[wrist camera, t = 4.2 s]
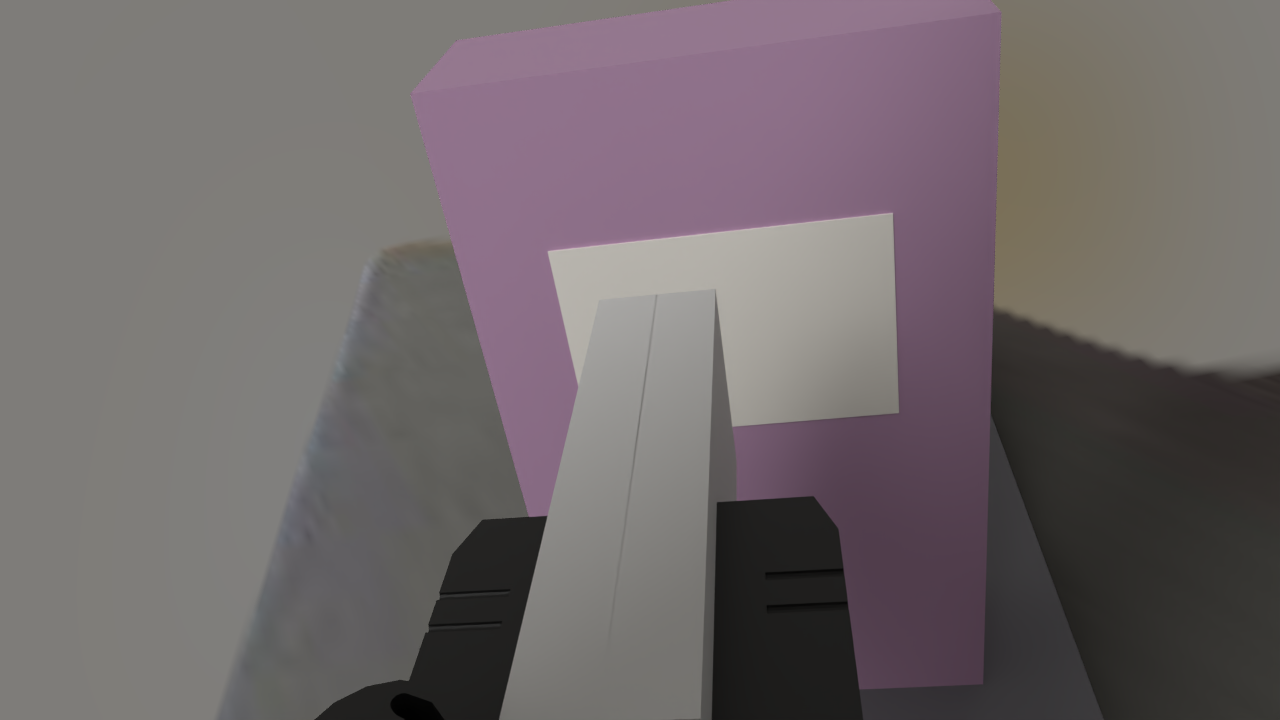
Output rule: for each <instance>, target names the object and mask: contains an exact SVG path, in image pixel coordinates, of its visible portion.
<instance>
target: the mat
mask: <svg viewBox="0 0 1280 720" xmlns="http://www.w3.org/2000/svg"><path fill="white" fill-rule="evenodd" d="M860 698H861V706H862V714H863V720H1104V719H1103V716H1102V713H1101V710H1100V708H1099V705H1098V702H1097V700H1096V697H1095V694H1094V692H1093V689H1092V686H1091V683H1090V681H1089V678H1088V675H1087V673H1086V670H1085V667H1084V665H1083V662H1082V659H1081V656H1080V654H1079V651H1078V648H1077V646H1076V643H1075V640H1074V637H1073V635H1072V632H1071V629H1070V627H1069V624H1068V621H1067V619H1066V616H1065V613H1064V610H1063V608H1062V605H1061V602H1060V600H1059V597H1058V594H1057V591H1056V589H1055V586H1054V583H1053V581H1052V578H1051V575H1050V573H1049V570H1048V567H1047V564H1046V562H1045V559H1044V556H1043V554H1042V551H1041V548H1040V545H1039V543H1038V540H1037V537H1036V535H1035V532H1034V529H1033V527H1032V524H1031V521H1030V518H1029V516H1028V513H1027V510H1026V508H1025V505H1024V502H1023V500H1022V497H1021V494H1020V491H1019V489H1018V486H1017V483H1016V481H1015V478H1014V475H1013V472H1012V470H1011V467H1010V464H1009V462H1008V459H1007V456H1006V454H1005V451H1004V448H1003V445H1002V443H1001V440H1000V437H999V435H998V432H997V429H996V426H995V424H994V421H993V418H992V416H991V413H990V449H989V486H988V523H987V560H986V597H985V634H984V671H983V684H978V685H955V686H931V687H908V688H884V689H860Z"/></svg>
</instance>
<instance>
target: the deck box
mask: <svg viewBox="0 0 1280 720" xmlns="http://www.w3.org/2000/svg"><path fill="white" fill-rule="evenodd" d="M1000 43H1001V11H1000V10H999V9H998V8H997V7H996V6H995V5H994V4H993V2H992V1H991V0H731V1H724V2H718V3H711V4H704V5H697V6H690V7H684V8H677V9H670V10H662V11H656V12H649V13H642V14H635V15H628V16H621V17H615V18H607V19H600V20H594V21H587V22H580V23H573V24H566V25H560V26H552V27H545V28H538V29H532V30H526V31H518V32H511V33H504V34H497V35H491V36H483V37H476V38H469V39H463V40H456V41H455V43H454V44H453V45H452V46H451V47H450V48H449V50H448V51H447V52H446V53H445V54H444V55H443V56H442V58H441V59H440V60H439V61H438V62H437V63H436V64H435V66H434V67H433V68H432V69H431V70H430V71H429V73H428V74H427V75H426V76H425V77H424V78H423V79H422V81H421V82H420V83H419V84H418V85H417V86H416V88H415V89H414V90H413V91H412V92H411V98H412V101H413V105H414V108H415V112H416V116H417V119H418V123H419V126H420V130H421V133H422V137H423V141H424V144H425V148H426V151H427V155H428V159H429V162H430V166H431V169H432V172H433V176H434V180H435V183H436V187H437V190H438V194H439V198H440V201H441V205H442V208H443V212H444V215H445V219H446V222H447V226H448V230H449V233H450V237H451V241H452V244H453V248H454V251H455V255H456V258H457V262H458V265H459V269H460V273H461V276H462V280H463V283H464V287H465V290H466V294H467V298H468V301H469V305H470V308H471V312H472V315H473V319H474V323H475V326H476V330H477V333H478V337H479V340H480V344H481V347H482V351H483V355H484V358H485V362H486V365H487V369H488V372H489V376H490V380H491V383H492V387H493V390H494V394H495V397H496V401H497V404H498V408H499V412H500V415H501V419H502V422H503V426H504V429H505V433H506V437H507V440H508V444H509V447H510V451H511V454H512V458H513V461H514V465H515V469H516V472H517V476H518V479H519V483H520V486H521V490H522V494H523V497H524V501H525V504H526V508H527V511H528V515H529V517H537V516H548V512H549V508H550V504H551V500H552V496H553V491H554V487H555V483H556V479H557V475H558V470H559V466H560V462H561V458H562V454H563V449H564V445H565V441H566V437H567V433H568V429H569V424H570V420H571V416H572V412H573V408H574V403H575V399H576V395H577V391H578V387H579V382H580V378H581V374H582V370H583V366H584V362H585V357H586V353H587V349H588V345H589V341H590V336H591V332H592V328H593V324H594V320H595V315H596V311H597V307H598V303H599V300H602V299H613V298H624V297H634V296H645V295H656V294H666V293H677V292H688V291H699V290H709V289H716V297H717V305H718V313H719V321H720V330H721V338H722V346H723V354H724V362H725V371H726V379H727V387H728V395H729V403H730V412H731V420H732V428H733V436H734V444H735V453H736V461H737V501H743V500H759V499H775V498H791V497H807V496H814V497H815V499H816V500H817V501H818V503H819V504H820V505H821V506H822V508H823V509H824V510H825V512H826V513H827V514H828V516H829V517H830V518H831V520H832V521H833V522H834V523H835V525H836V526H837V527H838V529H839V536H840V544H841V552H842V559H843V567H844V576H845V582H846V590H847V598H848V608H849V613H850V621H851V629H852V636H853V644H854V652H855V660H856V667H857V675H858V683H859V690H860V689H884V688H908V687H931V686H955V685H978V684H983V671H984V634H985V597H986V560H987V523H988V486H989V449H990V412H991V376H992V339H993V302H994V265H995V226H996V225H995V224H996V191H997V190H996V189H997V152H998V115H999V80H1000Z"/></svg>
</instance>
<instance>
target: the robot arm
mask: <svg viewBox="0 0 1280 720" xmlns="http://www.w3.org/2000/svg"><path fill="white" fill-rule="evenodd" d="M439 593H440V600H437V601H436V604H435V607H434V610H433V613H432V616H431V618H430V621H429V624H428V625H429V632H428V633H425V636H424V639H423V642H422V645H421V648H420V651H419V653H418V656H417V659H416V662H415V665H414V668H413V671H412V674H411V677H410V680H409V681H403V680H398V681H393V682H387V683H382V684H377V685H372V686H367V687H365V688H363V689H361V690H359V691H357V692H355V693H353V694H351V695H349V696H347V697H345V698H343V699H341V700H339V701H337V702H335V703H333V704H332V705H331V706H330V707H329V708H328V709H326V710H325V711H324V712H323V713H322V714H321V715H319V716H318V717H317V718H316V719H315V720H863V714H862V706H861V698H860V690H859V683H858V675H857V667H856V660H855V652H854V644H853V636H852V629H851V621H850V613H849V608H848V598H847V590H846V582H845V576H844V567H843V559H842V552H841V544H840V536H839V529H838V527H837V526H836V525H835V523H834V522H833V521H832V520H831V518H830V517H829V516H828V514H827V513H826V512H825V510H824V509H823V508H822V506H821V505H820V504H819V503H818V501H817V500H816V499H815V497H814V496H807V497H791V498H775V499H759V500H743V501H737V461H736V453H735V444H734V436H733V428H732V420H731V412H730V403H729V395H728V387H727V379H726V371H725V362H724V354H723V346H722V338H721V330H720V321H719V313H718V305H717V297H716V289H709V290H699V291H688V292H677V293H666V294H656V295H645V296H634V297H624V298H613V299H602V300H599V303H598V307H597V311H596V315H595V320H594V324H593V328H592V332H591V336H590V341H589V345H588V349H587V353H586V357H585V362H584V366H583V370H582V374H581V378H580V382H579V387H578V391H577V395H576V399H575V403H574V408H573V412H572V416H571V420H570V424H569V429H568V433H567V437H566V441H565V445H564V449H563V454H562V458H561V462H560V466H559V470H558V475H557V479H556V483H555V487H554V491H553V496H552V500H551V504H550V508H549V512H548V516H537V517H521V518H505V519H489V520H482V521H481V522H480V523H479V524H478V526H477V527H476V528H475V529H474V530H473V531H472V532H471V534H470V535H469V536H468V537H467V538H466V539H465V540H464V542H463V543H462V544H461V545H460V546H459V547H458V549H457V550H456V551H455V552H454V553H453V554H452V557H451V560H450V563H449V566H448V569H447V572H446V575H445V578H444V581H443V583H442V586H441V589H440V592H439Z"/></svg>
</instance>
